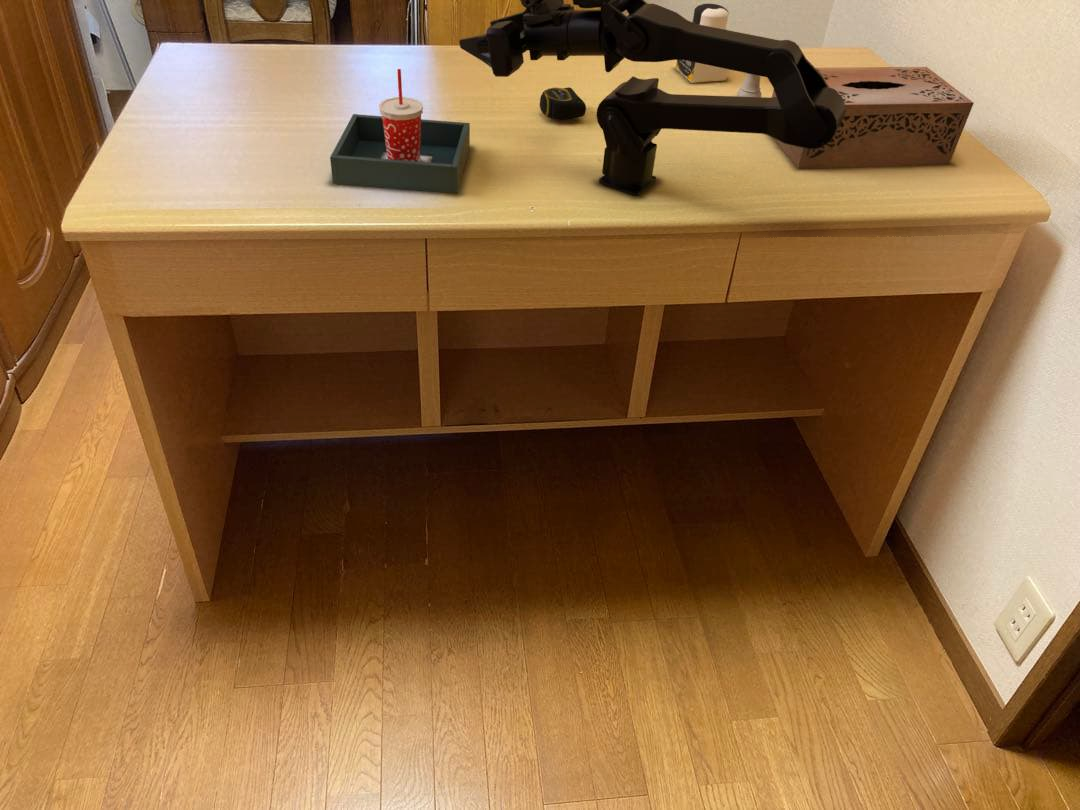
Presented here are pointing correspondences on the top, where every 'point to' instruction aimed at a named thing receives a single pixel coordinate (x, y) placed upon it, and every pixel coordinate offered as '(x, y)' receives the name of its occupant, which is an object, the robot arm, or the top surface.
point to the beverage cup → (402, 126)
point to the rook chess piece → (750, 87)
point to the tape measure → (561, 104)
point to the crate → (364, 166)
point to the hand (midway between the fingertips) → (476, 34)
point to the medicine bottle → (697, 71)
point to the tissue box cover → (889, 119)
